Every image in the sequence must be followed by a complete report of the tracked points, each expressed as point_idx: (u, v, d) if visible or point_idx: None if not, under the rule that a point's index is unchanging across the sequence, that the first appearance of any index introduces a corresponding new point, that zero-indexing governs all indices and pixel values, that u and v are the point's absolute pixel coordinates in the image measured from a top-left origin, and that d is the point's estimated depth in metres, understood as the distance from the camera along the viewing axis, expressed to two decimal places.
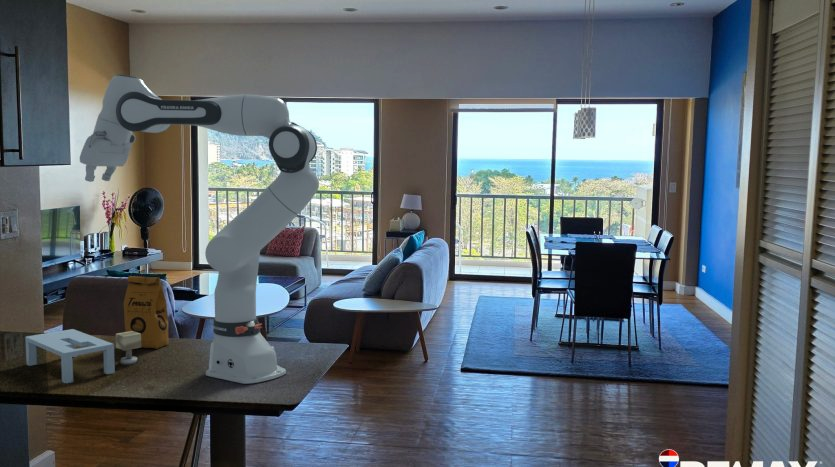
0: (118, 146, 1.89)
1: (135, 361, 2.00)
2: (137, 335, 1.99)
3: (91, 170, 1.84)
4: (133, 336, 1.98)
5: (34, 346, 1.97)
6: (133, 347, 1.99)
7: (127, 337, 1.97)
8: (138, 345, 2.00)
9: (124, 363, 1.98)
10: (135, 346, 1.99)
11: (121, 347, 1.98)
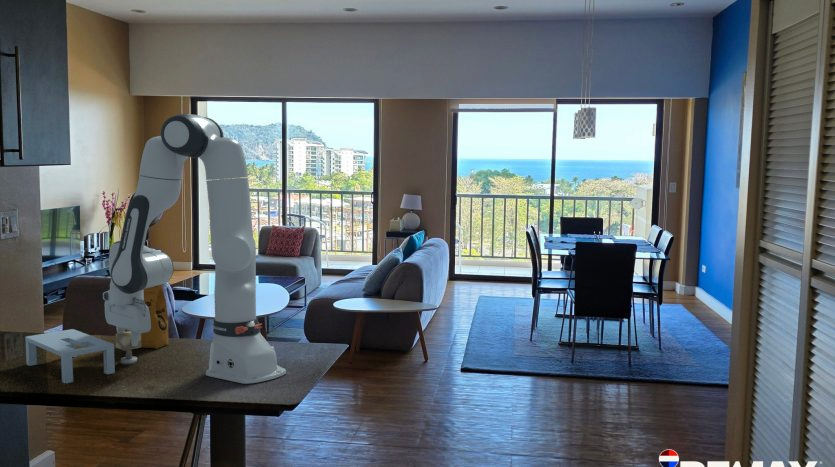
0: None
1: (135, 361, 2.00)
2: None
3: (138, 335, 1.97)
4: None
5: (34, 346, 1.97)
6: (133, 347, 1.99)
7: (127, 337, 1.97)
8: (138, 345, 2.00)
9: (124, 363, 1.98)
10: (135, 346, 1.99)
11: (121, 347, 1.98)
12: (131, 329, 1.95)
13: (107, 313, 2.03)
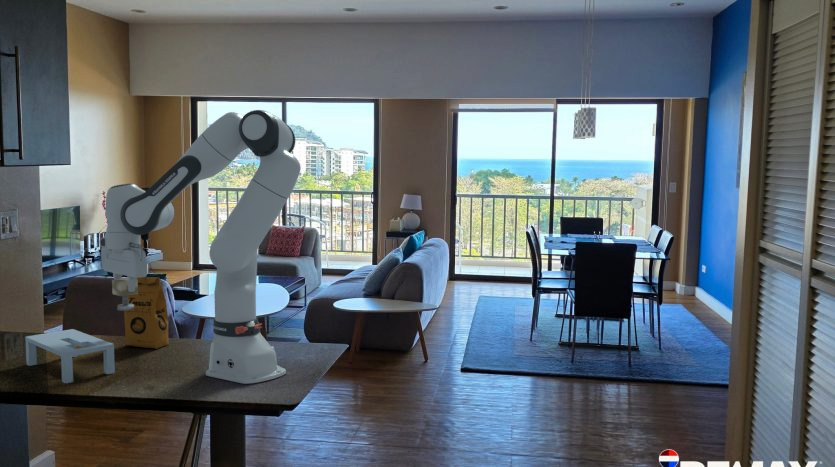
0: None
1: (132, 308, 1.98)
2: None
3: (135, 280, 1.95)
4: None
5: (34, 346, 1.97)
6: (130, 293, 1.97)
7: (124, 283, 1.95)
8: (135, 291, 1.98)
9: (120, 309, 1.97)
10: (132, 292, 1.97)
11: (117, 293, 1.96)
12: (128, 274, 1.93)
13: (104, 260, 2.02)
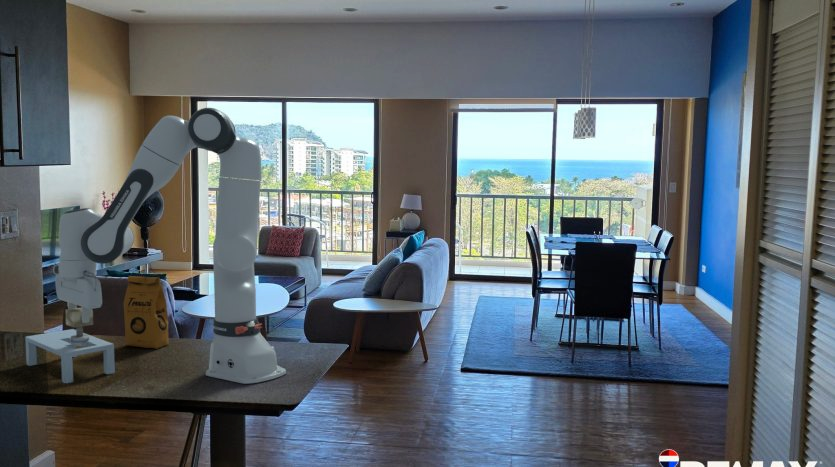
0: None
1: (86, 339, 1.87)
2: None
3: (89, 311, 1.84)
4: None
5: (34, 346, 1.97)
6: (84, 324, 1.86)
7: (77, 313, 1.84)
8: (89, 322, 1.87)
9: (74, 341, 1.86)
10: (86, 323, 1.86)
11: (71, 324, 1.85)
12: (81, 304, 1.82)
13: (58, 288, 1.91)
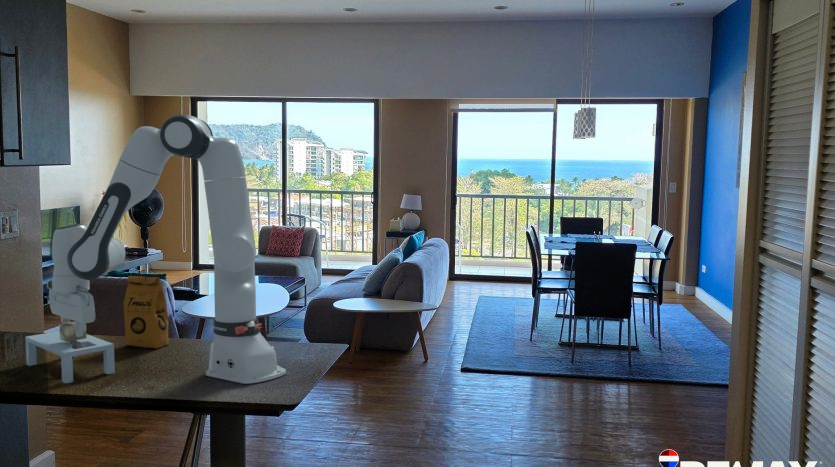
0: None
1: None
2: None
3: (83, 325, 1.88)
4: None
5: (34, 346, 1.97)
6: (77, 338, 1.89)
7: (71, 327, 1.88)
8: (83, 336, 1.90)
9: None
10: (80, 337, 1.90)
11: (65, 338, 1.88)
12: (75, 319, 1.85)
13: (52, 302, 1.94)
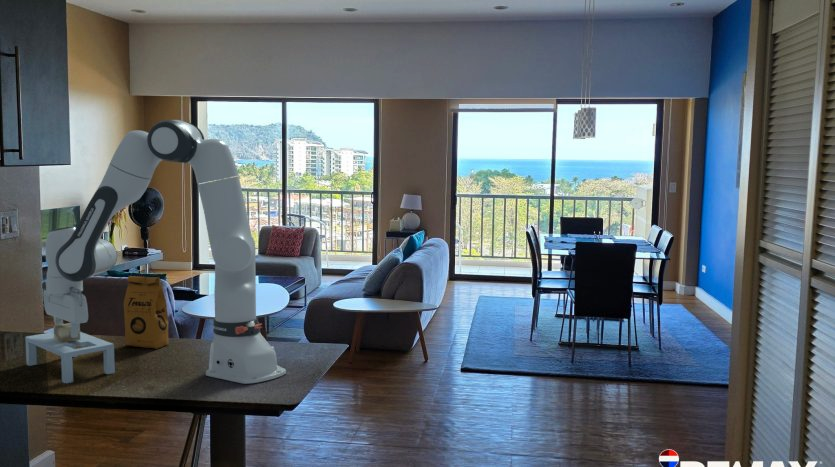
0: None
1: None
2: None
3: (78, 326, 1.90)
4: None
5: (34, 346, 1.97)
6: (71, 339, 1.92)
7: (65, 329, 1.91)
8: (77, 337, 1.93)
9: None
10: (73, 338, 1.93)
11: (59, 339, 1.91)
12: (68, 319, 1.88)
13: (46, 303, 1.97)
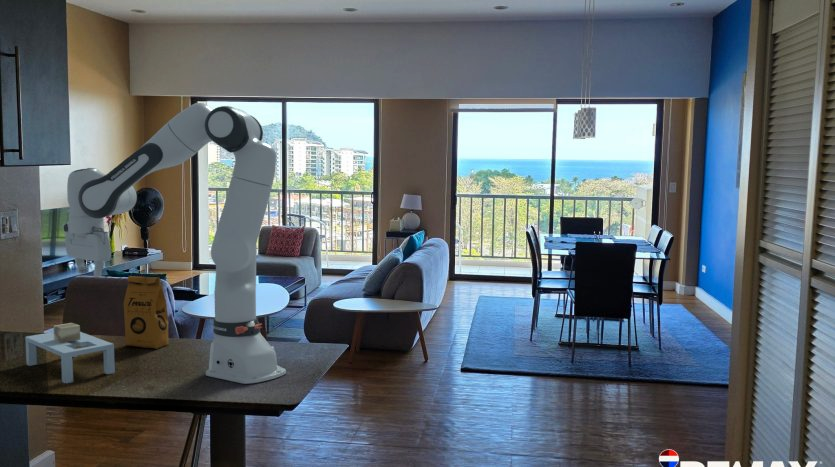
0: None
1: None
2: (76, 327, 1.93)
3: (101, 265, 1.94)
4: (71, 328, 1.92)
5: (34, 346, 1.97)
6: (71, 339, 1.92)
7: (65, 329, 1.91)
8: (77, 337, 1.93)
9: None
10: (73, 338, 1.93)
11: (59, 339, 1.91)
12: (91, 258, 1.93)
13: (68, 246, 2.01)
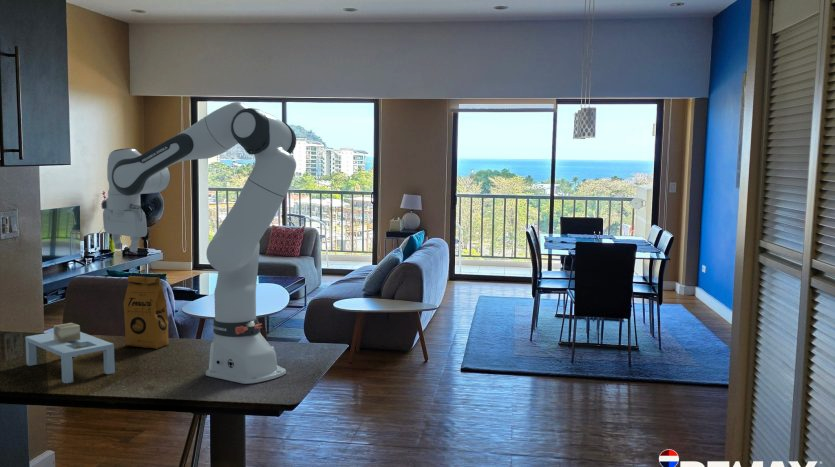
0: None
1: None
2: (76, 327, 1.93)
3: (137, 241, 2.04)
4: (71, 328, 1.92)
5: (34, 346, 1.97)
6: (71, 339, 1.92)
7: (65, 329, 1.91)
8: (77, 337, 1.93)
9: None
10: (73, 338, 1.93)
11: (59, 339, 1.91)
12: (128, 234, 2.02)
13: (105, 222, 2.11)
